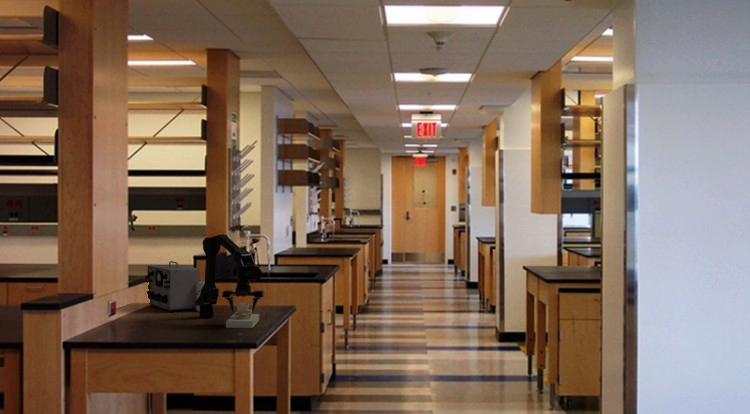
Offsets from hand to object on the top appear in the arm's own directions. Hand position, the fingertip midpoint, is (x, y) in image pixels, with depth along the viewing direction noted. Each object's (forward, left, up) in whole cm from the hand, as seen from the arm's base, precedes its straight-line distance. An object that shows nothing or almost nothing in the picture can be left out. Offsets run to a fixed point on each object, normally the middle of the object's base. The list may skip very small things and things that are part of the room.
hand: (243, 312), depth 350 cm
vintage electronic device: (-46, +49, -6) cm, 67 cm away
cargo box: (0, 0, 0) cm, 1 cm away
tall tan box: (0, 0, -2) cm, 2 cm away
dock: (0, 0, -6) cm, 6 cm away
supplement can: (-27, +41, -6) cm, 49 cm away
